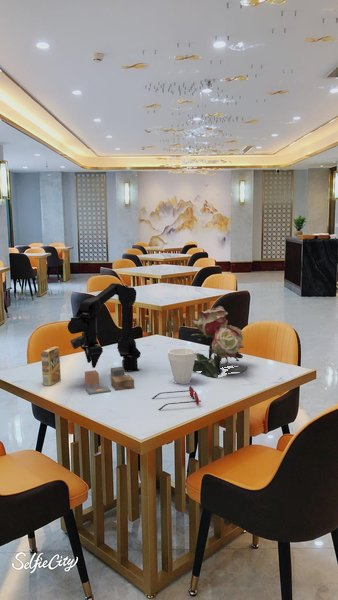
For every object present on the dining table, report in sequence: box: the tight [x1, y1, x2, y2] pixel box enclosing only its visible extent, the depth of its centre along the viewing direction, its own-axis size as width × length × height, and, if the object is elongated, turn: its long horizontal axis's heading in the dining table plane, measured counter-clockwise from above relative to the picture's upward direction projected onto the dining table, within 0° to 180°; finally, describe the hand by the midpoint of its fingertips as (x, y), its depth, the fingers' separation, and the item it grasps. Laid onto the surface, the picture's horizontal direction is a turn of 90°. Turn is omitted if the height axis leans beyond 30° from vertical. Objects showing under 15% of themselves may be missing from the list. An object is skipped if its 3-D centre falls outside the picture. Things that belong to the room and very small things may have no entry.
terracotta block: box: [84, 370, 100, 387], centre depth 224 cm, size 5×5×5 cm
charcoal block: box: [110, 366, 126, 378], centre depth 229 cm, size 5×5×5 cm
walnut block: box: [110, 374, 135, 391], centre depth 219 cm, size 8×8×4 cm
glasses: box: [151, 385, 202, 411], centre depth 198 cm, size 14×16×5 cm
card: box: [85, 385, 112, 396], centre depth 213 cm, size 9×6×1 cm, turn 112°
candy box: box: [40, 346, 62, 386], centre depth 225 cm, size 9×4×15 cm, turn 163°
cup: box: [167, 347, 197, 384], centre depth 224 cm, size 12×12×14 cm
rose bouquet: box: [190, 305, 248, 379], centre depth 242 cm, size 26×29×30 cm
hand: (91, 365), depth 223 cm, fingers open, 9 cm apart
